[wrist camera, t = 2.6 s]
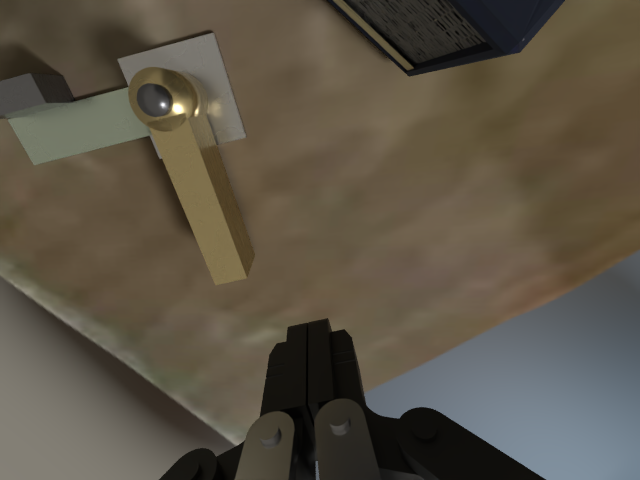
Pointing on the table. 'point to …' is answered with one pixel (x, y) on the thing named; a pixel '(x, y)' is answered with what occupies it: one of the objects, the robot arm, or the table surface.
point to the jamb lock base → (115, 103)
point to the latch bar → (197, 172)
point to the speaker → (447, 29)
